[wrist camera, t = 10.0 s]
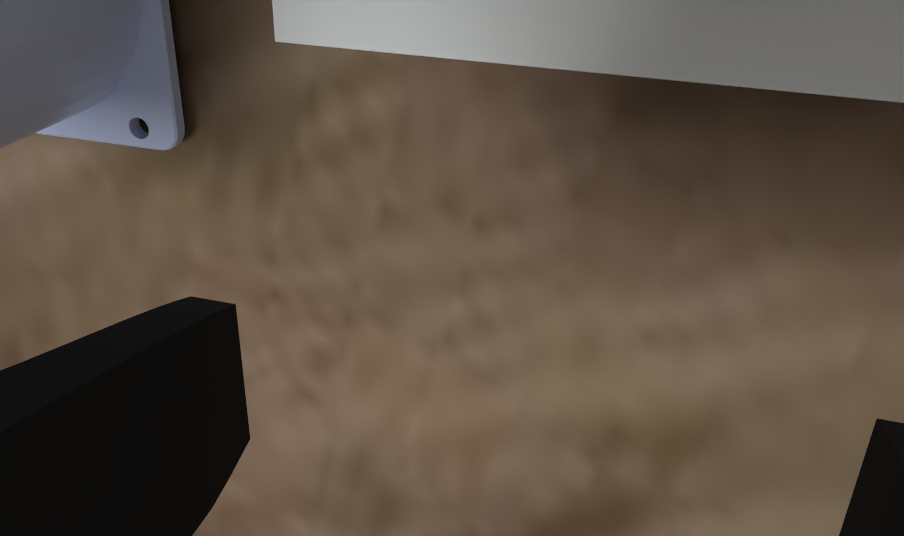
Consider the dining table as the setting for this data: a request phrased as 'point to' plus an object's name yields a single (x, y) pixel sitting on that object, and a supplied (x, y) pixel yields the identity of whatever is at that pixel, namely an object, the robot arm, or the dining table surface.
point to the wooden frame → (633, 38)
